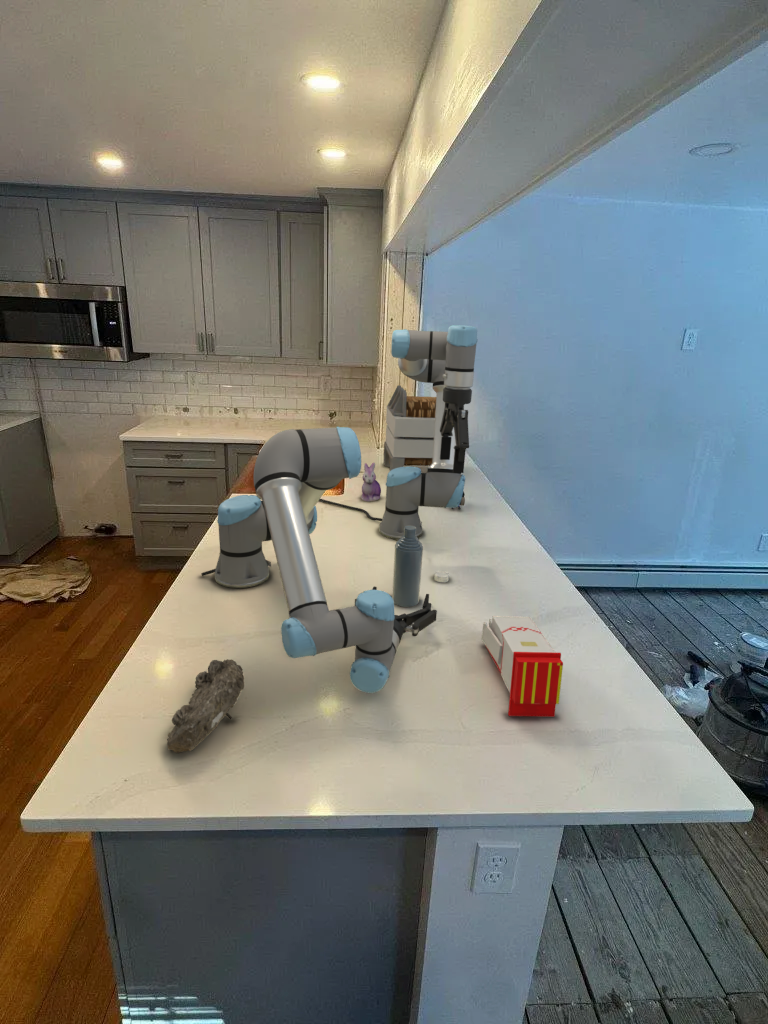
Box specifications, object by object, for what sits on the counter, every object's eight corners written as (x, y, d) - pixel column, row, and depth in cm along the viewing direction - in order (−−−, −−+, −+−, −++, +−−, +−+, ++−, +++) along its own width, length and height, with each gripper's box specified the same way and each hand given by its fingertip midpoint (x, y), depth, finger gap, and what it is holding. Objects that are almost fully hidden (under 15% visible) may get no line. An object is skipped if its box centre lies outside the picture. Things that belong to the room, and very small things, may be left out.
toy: (528, 601, 136) (572, 659, 107) (523, 653, 139) (565, 722, 110) (478, 600, 136) (508, 657, 107) (474, 652, 139) (503, 722, 109)
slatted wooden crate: (382, 463, 289) (386, 382, 275) (445, 464, 293) (451, 384, 279) (390, 482, 257) (394, 392, 243) (460, 483, 261) (468, 394, 247)
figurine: (365, 503, 229) (367, 467, 224) (355, 495, 237) (356, 461, 232) (386, 500, 233) (388, 465, 228) (375, 493, 242) (376, 459, 237)
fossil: (192, 660, 117) (244, 628, 112) (224, 691, 120) (276, 661, 115) (142, 746, 98) (202, 712, 93) (182, 779, 101) (242, 748, 96)
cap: (434, 582, 166) (435, 577, 165) (433, 575, 170) (434, 570, 169) (449, 582, 166) (449, 577, 165) (447, 576, 170) (448, 571, 169)
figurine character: (465, 514, 225) (460, 498, 239) (467, 497, 222) (461, 482, 235) (448, 514, 225) (444, 498, 239) (450, 496, 222) (445, 481, 235)
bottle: (421, 596, 157) (426, 524, 150) (416, 608, 150) (421, 534, 143) (395, 592, 159) (399, 521, 152) (389, 604, 152) (393, 530, 145)
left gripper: (328, 644, 129) (353, 601, 148) (438, 662, 124) (448, 614, 144) (329, 615, 126) (354, 575, 146) (440, 632, 121) (450, 588, 141)
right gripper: (432, 381, 160) (427, 454, 167) (457, 394, 136) (450, 478, 144) (458, 381, 161) (452, 454, 168) (487, 394, 138) (478, 478, 145)
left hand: (401, 594), depth 145 cm, fingers open, 13 cm apart
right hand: (451, 465), depth 156 cm, fingers open, 13 cm apart
